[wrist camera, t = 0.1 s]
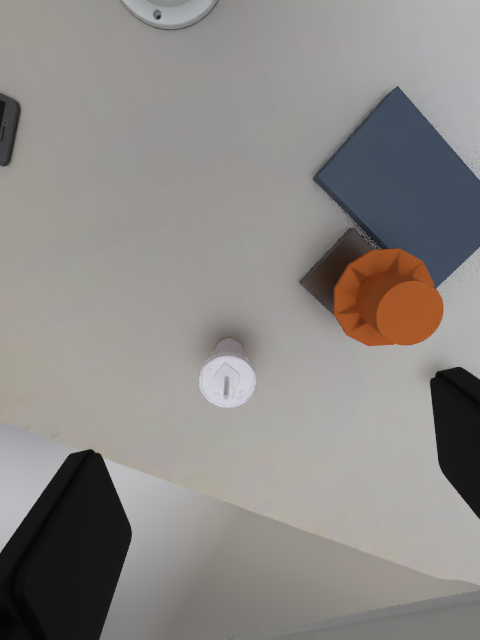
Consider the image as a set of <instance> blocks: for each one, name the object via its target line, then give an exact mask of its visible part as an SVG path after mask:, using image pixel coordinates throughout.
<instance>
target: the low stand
mask: <svg viewBox="0 0 480 640" xmlns="http://www.w3.org/2000/svg"><path fill="white" fill-rule="evenodd" d="M313 179H314V180H315V181H316V182H317V183H318V184H319V185H320V186H321V187H322V188H323V189H324V190H325V191H326V192H327V193H328V194H329V195H330V196H331V197H332V198H333V199H334V200H335V201H336V202H337V203H338V204H339V205H340V206H341V207H342V208H343V209H344V210H345V211H346V212H347V213H348V214H349V215H350V216H351V217H352V218H353V219H354V220H355V221H356V223H357V224H358V225H359V226H360V227H361V228H362V229H363V230H364V231H365V232H366V233H367V234H368V235H369V236H370V237H371V238H372V239H373V240H374V241H375V242H376V243H377V244H378V245H379V246H380V247H381V248H382V249H394V248H399V249H402V250H404V251H405V252H407V253H409V254H411V255H413V256H414V257H416V258H418V259H420V260H422V261H423V263H424V265H425V267H426V269H427V271H428V273H429V275H430V277H431V279H432V280H433V282H434V288H435V289H436V288H437V287H438V286H439V285H440V284H441V283H442V282H443V281H444V280H445V279H446V278H447V277H449V276H450V275H451V274H452V273H453V272H454V271H455V270H456V269H457V268H458V267H459V266H460V265H461V264H462V263H463V262H464V261H465V260H466V259H467V258H468V257H470V256H471V255H472V254H473V253H474V252H475V251H476V250H477V249H478V248H479V247H480V180H479V179H478V178H477V177H476V176H475V175H474V174H473V172H472V171H471V170H470V169H469V168H468V167H467V165H466V164H465V163H464V162H463V161H462V160H461V159H460V157H459V156H458V155H457V154H456V153H455V152H454V150H453V149H452V148H451V147H450V146H449V145H448V144H447V142H446V141H445V140H444V139H443V138H442V137H441V135H440V134H439V133H438V132H437V131H436V130H435V128H434V127H433V126H432V125H431V124H430V123H429V122H428V120H427V119H426V118H425V117H424V116H423V115H422V113H421V112H420V111H419V110H418V109H417V108H416V107H415V105H414V104H413V103H412V102H411V101H410V100H409V98H408V97H407V96H406V95H405V94H404V93H403V92H402V90H401V89H400V88H399V87H398V86H397V87H396V88H395V89H393V90H392V91H391V92H390V93H388V94H387V95H386V97H385V98H384V99H383V100H382V101H381V102H380V103H379V104H378V106H377V107H376V108H375V109H374V110H373V111H372V112H371V113H370V115H369V116H368V117H367V118H366V119H365V120H364V121H363V122H362V124H361V125H360V126H359V127H358V128H357V129H356V130H355V131H354V133H353V134H352V135H351V136H350V137H349V138H348V139H347V141H346V142H345V143H344V144H343V145H342V146H341V147H340V148H339V150H338V151H337V152H336V153H335V154H334V155H333V156H332V157H331V159H330V160H329V161H328V162H327V163H326V164H325V165H324V166H323V168H322V169H321V170H320V171H319V172H318V173H317V174H316V175H315V177H314V178H313Z"/></svg>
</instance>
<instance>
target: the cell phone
mask: <svg viewBox="0 0 480 640" xmlns="http://www.w3.org/2000/svg"><path fill="white" fill-rule="evenodd" d="M18 114H19V106H18V103H17V102H16V101H15V100H13V99H11V98H9V97H7V96H5V95H3V94H0V165H1V166H6V165H7V164H8V162H9V159H10V154H11V149H12V144H13V139H14V134H15V129H16V124H17V119H18Z"/></svg>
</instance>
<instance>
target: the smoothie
mask: <svg viewBox="0 0 480 640" xmlns="http://www.w3.org/2000/svg"><path fill="white" fill-rule="evenodd" d="M199 386H200V390H201V392H202V394H203V396H204V397H205V398H206V399H207V400H208V401H209V402H210V403H212V404H214V405H216V406H219V407H224V408H231V407H236V406H239V405H241V404H243V403H245V402H246V401H247V400H248V399H249V398H250V397H251V396H252V394H253V393H254V390H255V387H256V373H255V369H254V368H253V366H252V364H251V363H250V362H249V361H248V360H247V357H246V355H245V353H244V350H243V348H242V346H241V344H240V343H239V342H238V341H237V340H236V339H233V338H225V339H223V340H221V341H220V342H219V343H218V344H217V346H216V348H215V349H214V351H213V353H212V355H211V357H210V358H209V359H208V360H207V361H206V362H205V363H204V365H203V366H202V368H201V371H200V374H199Z"/></svg>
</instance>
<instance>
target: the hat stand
mask: <svg viewBox="0 0 480 640" xmlns="http://www.w3.org/2000/svg"><path fill="white" fill-rule="evenodd" d="M370 250H374V249H373V248H372V247H371V246H370V245H369V244H368V243H367V242H366V241H365V240H364V239H363V238H362V237H361V236H360V235H359V234H358V233H357V232H356V231H355V230H354V229H349V230H348V231H347V232H346V233H345V234H344V235H343V236H342V237H341V238H340V240H339V241H338V242H337V243H336V244H335V245H334V246H333V247H332V248H331V249H330V250H329V251H328V252H327V253H326V254H325V255H324V256H323V258H322V259H321V260H320V261H319V262H318V263H317V264H316V265H315V266H314V267H313V268H312V269H311V270H310V271H309V272H308V273H307V274H306V275H305V277H304V278H303V279H302V280H301V281H300V282H299V283H300V284H301V285H302V286H303V287H304V288H305V289H307V290H308V291H309V292H310V293H311V294H312V295H313V296H314V297H315V298H316V299H317V300H318V301H320V302H321V303H322V304H323V305H324V306H325V307H326V308H327V309H328V310H329V311H330V312H331V313H333V305H334V287H335V285H336V284H337V282H338V280H339V278H340V277H341V275H342V273H343V272H344V270H345V268H346V266H347V265H348V264H349V263H351V262H353V261H354V260H356V259H357V258H359V257H361V256H362V255H364V254H365V253H367V252H369V251H370ZM333 314H334V313H333Z"/></svg>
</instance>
